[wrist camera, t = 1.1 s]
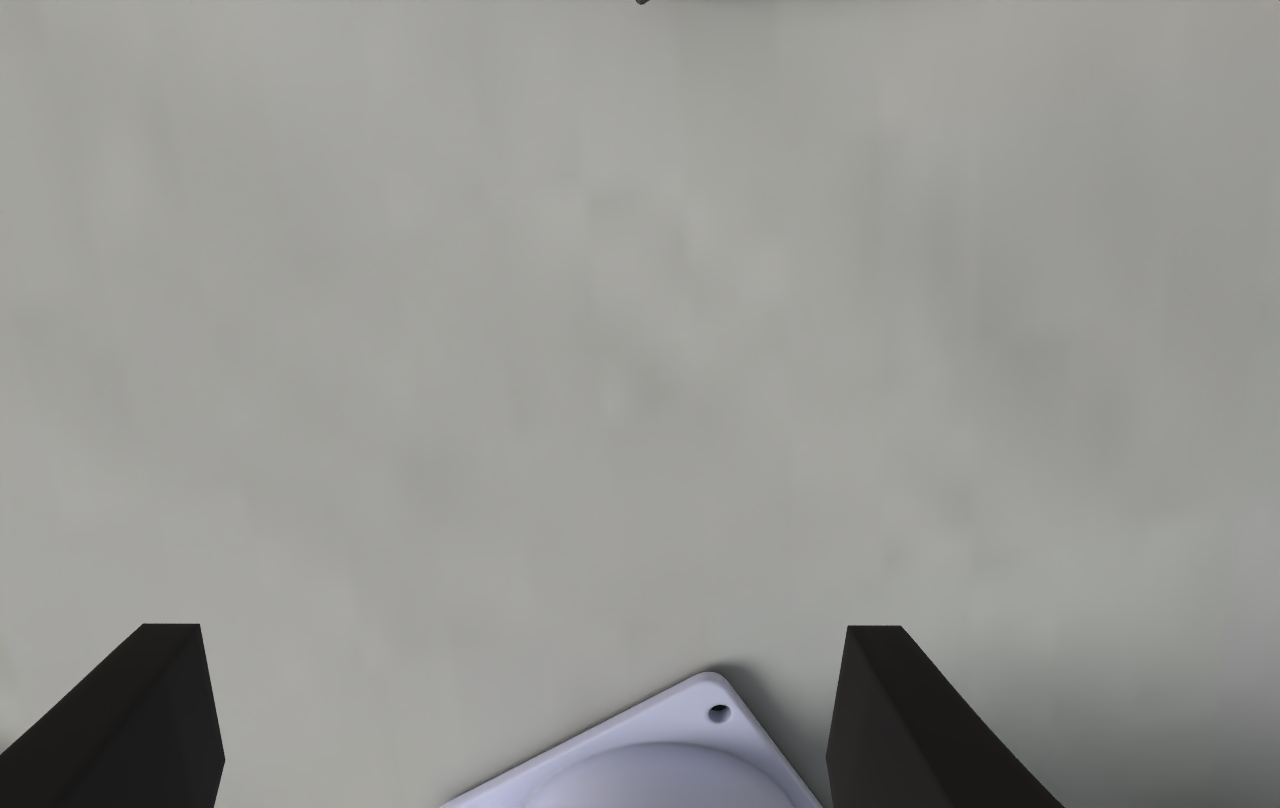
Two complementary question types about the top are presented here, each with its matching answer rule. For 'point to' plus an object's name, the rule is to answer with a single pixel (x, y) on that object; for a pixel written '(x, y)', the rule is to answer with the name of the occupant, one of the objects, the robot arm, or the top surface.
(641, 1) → the scale
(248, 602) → the top surface
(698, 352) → the top surface
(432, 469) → the top surface
